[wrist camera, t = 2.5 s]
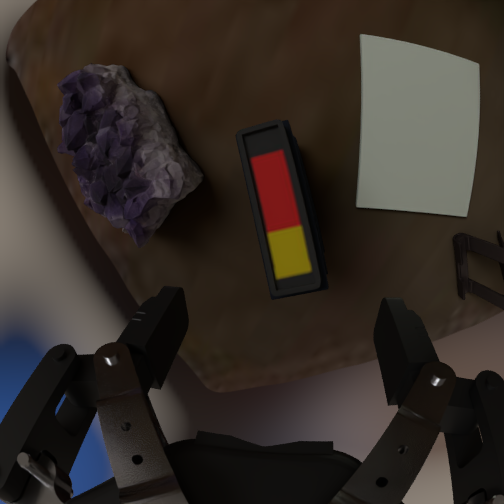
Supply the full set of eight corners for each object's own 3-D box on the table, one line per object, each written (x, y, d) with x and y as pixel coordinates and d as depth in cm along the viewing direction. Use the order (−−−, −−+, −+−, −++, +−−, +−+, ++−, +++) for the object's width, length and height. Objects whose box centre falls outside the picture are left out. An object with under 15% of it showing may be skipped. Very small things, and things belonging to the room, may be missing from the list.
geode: (66, 107, 28) (13, 106, 19) (137, 49, 26) (95, 25, 17) (139, 241, 35) (102, 277, 25) (220, 195, 32) (203, 219, 23)
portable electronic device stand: (450, 234, 29) (483, 270, 22) (497, 214, 27) (535, 243, 19) (456, 291, 32) (481, 331, 25) (499, 270, 30) (529, 305, 23)
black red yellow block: (295, 275, 33) (267, 303, 18) (269, 161, 33) (224, 106, 18) (328, 268, 32) (328, 292, 17) (301, 152, 32) (278, 90, 17)
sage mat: (359, 35, 21) (360, 34, 21) (476, 64, 20) (479, 64, 19) (355, 205, 30) (356, 206, 29) (464, 215, 28) (466, 217, 27)
